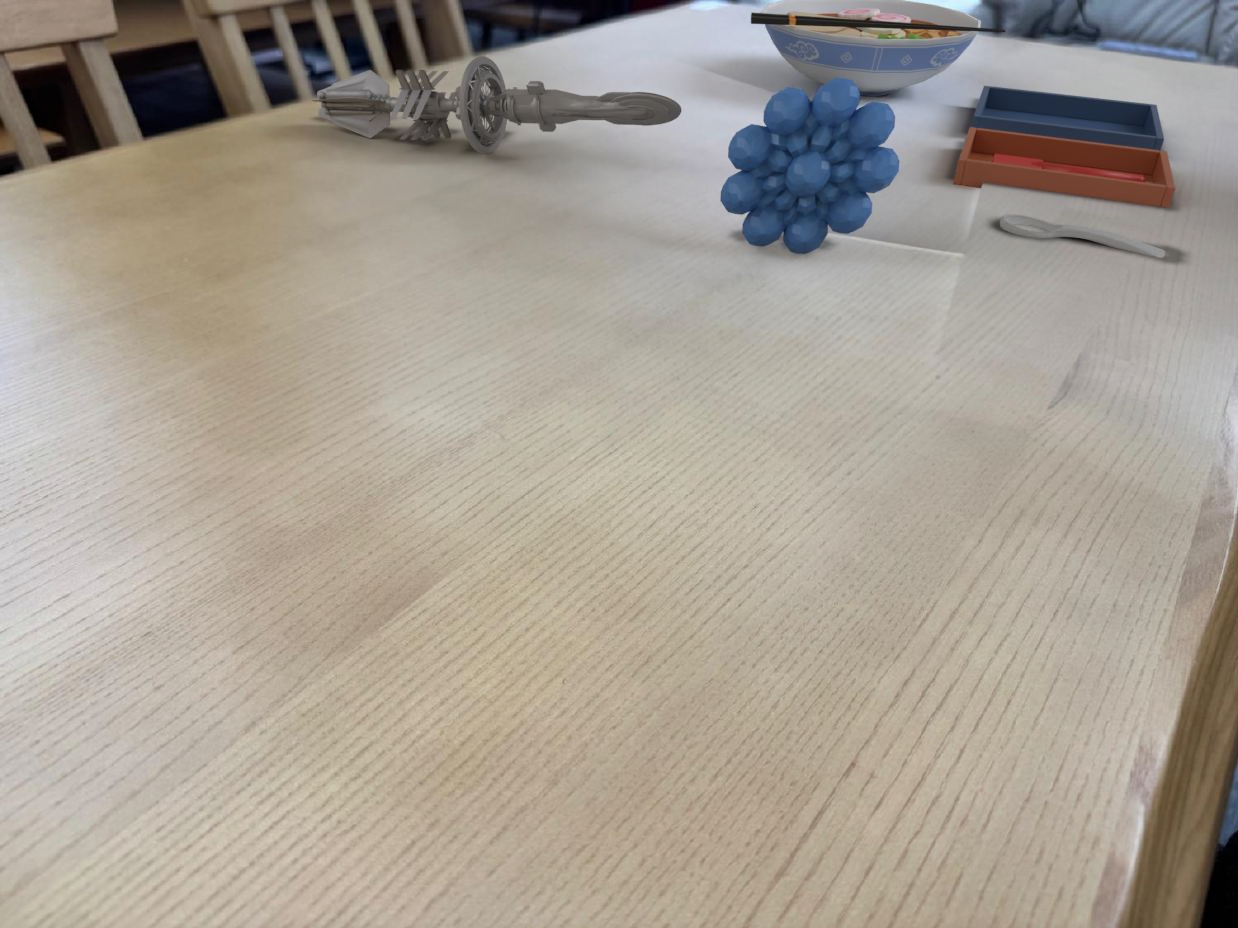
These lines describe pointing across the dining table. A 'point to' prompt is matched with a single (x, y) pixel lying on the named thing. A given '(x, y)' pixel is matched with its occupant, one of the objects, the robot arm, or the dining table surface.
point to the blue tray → (1069, 117)
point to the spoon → (1077, 234)
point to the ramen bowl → (868, 40)
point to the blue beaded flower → (810, 166)
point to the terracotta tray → (1065, 152)
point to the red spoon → (1064, 167)
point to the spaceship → (479, 105)
